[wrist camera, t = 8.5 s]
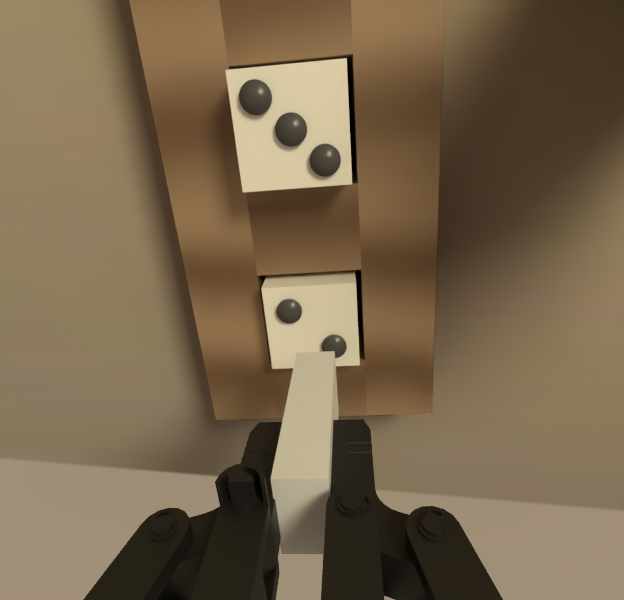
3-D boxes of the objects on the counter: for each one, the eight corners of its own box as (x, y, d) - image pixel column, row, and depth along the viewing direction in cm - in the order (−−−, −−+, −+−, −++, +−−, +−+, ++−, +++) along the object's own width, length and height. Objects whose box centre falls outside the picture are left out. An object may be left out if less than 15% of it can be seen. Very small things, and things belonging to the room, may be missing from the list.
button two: (356, 332, 25) (360, 367, 22) (280, 336, 26) (271, 371, 22) (353, 258, 23) (356, 284, 20) (271, 263, 24) (260, 290, 20)
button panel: (422, 381, 27) (431, 413, 24) (227, 389, 28) (215, 420, 25) (437, -367, 15) (460, -474, 12) (97, -309, 16) (47, -396, 13)
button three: (349, 172, 21) (352, 185, 17) (257, 179, 21) (241, 193, 18) (345, 66, 19) (346, 57, 16) (243, 76, 19) (224, 69, 16)
